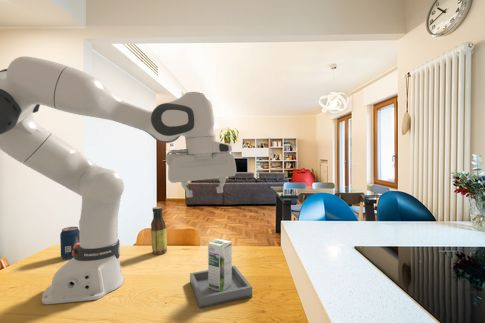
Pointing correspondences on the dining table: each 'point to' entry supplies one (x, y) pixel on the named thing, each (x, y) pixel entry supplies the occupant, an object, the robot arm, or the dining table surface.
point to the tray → (213, 297)
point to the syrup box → (219, 264)
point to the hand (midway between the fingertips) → (205, 194)
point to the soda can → (68, 241)
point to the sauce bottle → (158, 232)
